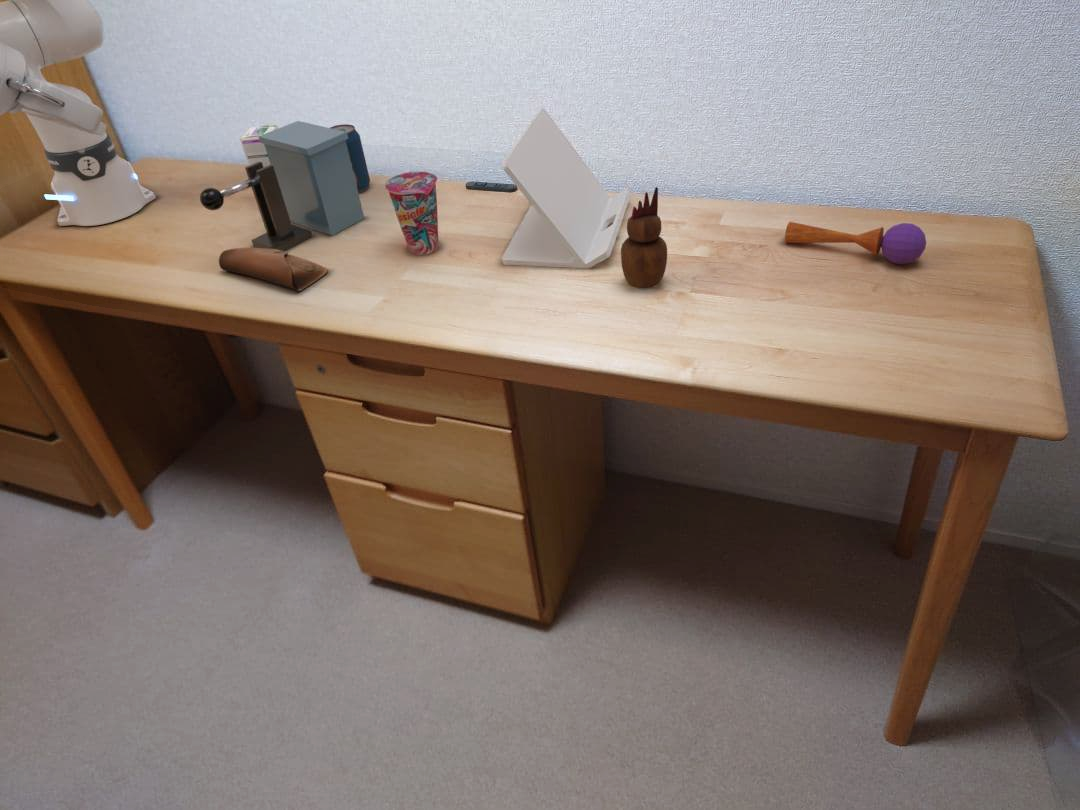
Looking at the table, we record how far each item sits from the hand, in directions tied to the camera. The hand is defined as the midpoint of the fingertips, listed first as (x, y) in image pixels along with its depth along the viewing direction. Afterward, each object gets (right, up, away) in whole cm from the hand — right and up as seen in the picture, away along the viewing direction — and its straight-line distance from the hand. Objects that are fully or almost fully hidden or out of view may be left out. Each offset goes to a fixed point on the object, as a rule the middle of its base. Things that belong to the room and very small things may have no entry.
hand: (100, 129), depth 108 cm
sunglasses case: (+18, -17, +21) cm, 32 cm away
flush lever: (+12, -4, +20) cm, 24 cm away
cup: (+43, -12, +23) cm, 50 cm away
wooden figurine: (+78, -21, +8) cm, 81 cm away
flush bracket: (+16, -9, +30) cm, 35 cm away
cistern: (+22, -4, +36) cm, 42 cm away
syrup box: (+11, +1, +44) cm, 45 cm away
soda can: (+25, +5, +46) cm, 53 cm away
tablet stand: (+68, -9, +24) cm, 72 cm away
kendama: (+111, -16, +10) cm, 112 cm away
